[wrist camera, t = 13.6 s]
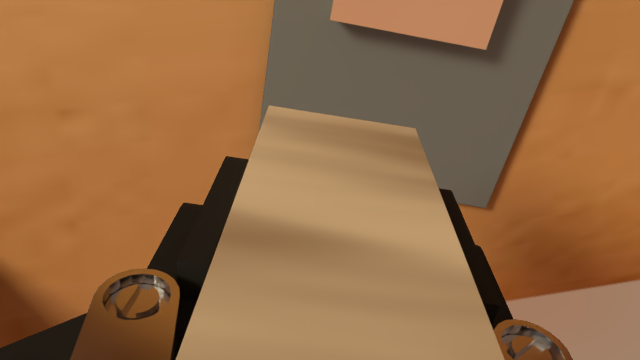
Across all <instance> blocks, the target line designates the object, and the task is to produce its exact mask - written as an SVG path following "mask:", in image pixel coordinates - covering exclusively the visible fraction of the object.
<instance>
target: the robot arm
mask: <svg viewBox="0 0 640 360" xmlns="http://www.w3.org/2000/svg"><path fill="white" fill-rule="evenodd" d="M248 161H249V160H248V159H242V158H235V157H228V156H226V157H225V159H224V161H223V163H222V166H221V168H220V170H219V172H218V174H217V176H216V178H215V181H214V183H213V185H212V187H211V189H210V191H209V193H208V195H207V198H206V200H205V202H204V204H203V205H197V204H190V203H183V204H182V206H181V207H180V209H179V211H178V213H177V214H176V216H175V218H174V220H173V222H172V224H171V225H170V227H169V229H168V231H167V233H166V235H165V236H164V238H163V240H162V242H161V244H160V246H159V247H158V249H157V251H156V253H155V255H154V257H153V258H152V260H151V262H150V264H149V266H148V268H147V269H145V268H143V269H131V270H128V271H124V272H121V273H118V274H116V275H114V276H112V277H110V278H108V279H107V280H106V281H105V282H104V283H102V284H101V285H100V286H99V287H98V289H97V291H96V292H95V294H94V296H93V298H92V301H91V304H90V307H89V309H88V312H87V313H86V314H83V315H81V316H78V317H76V318H74V319H71V320H69V321H66V322H64V323H61V324H59V325H56V326H54V327H51V328H49V329H47V330H44V331H42V332H39V333H37V334H34V335H32V336H29V337H27V338H24V339H22V340H19V341H17V342H15V343H12V344H10V345H7V346H5V347H2V348H0V360H176V357H177V355H178V352H179V349H180V346H181V344H182V341H183V338H184V336H185V333H186V330H187V327H188V325H189V322H190V319H191V316H192V314H193V311H194V308H195V306H196V303H197V300H198V297H199V295H200V292H201V289H202V286H203V284H204V281H205V278H206V276H207V273H208V270H209V267H210V265H211V262H212V259H213V257H214V254H215V251H216V248H217V246H218V243H219V240H220V237H221V235H222V232H223V229H224V227H225V224H226V221H227V218H228V216H229V213H230V210H231V207H232V205H233V202H234V199H235V197H236V194H237V191H238V188H239V186H240V183H241V180H242V177H243V175H244V172H245V169H246V167H247V164H248ZM439 191H440V194H441V196H442V199H443V201H444V204H445V207H446V209H447V212H448V214H449V217H450V219H451V222H452V225H453V227H454V230H455V232H456V235H457V238H458V240H459V243H460V245H461V248H462V251H463V253H464V256H465V258H466V261H467V263H468V266H469V269H470V271H471V274H472V276H473V279H474V282H475V284H476V287H477V289H478V292H479V295H480V297H481V300H482V302H483V305H484V307H485V310H486V313H487V315H488V318H489V320H490V323H491V326H492V328H493V331H494V333H495V336H496V339H497V341H498V344H499V346H500V349H501V352H502V354H503V357H504V359H505V360H573V359H572V357H571V355H570V353H569V351H568V350H567V348H566V347H565V346H564V345H563V344H562V343H561V341H560V340H559V339H557V338H556V337H555V336H554V335H552V334H551V333H550V332H548V331H547V330H545V329H543V328H541V327H540V326H538V325H535V324H533V323H530V322H527V321H523V320H516V319H513V317H512V315H511V313H510V311H509V308H508V306H507V304H506V302H505V299H504V297H503V295H502V293H501V291H500V288H499V286H498V284H497V282H496V279H495V277H494V275H493V273H492V270H491V268H490V266H489V264H488V261H487V259H486V257H485V255H484V252H483V250H482V249H481V247H480V246H478V245H475V243H474V241H473V239H472V236H471V234H470V232H469V229H468V227H467V225H466V223H465V220H464V218H463V216H462V213H461V211H460V209H459V206H458V204H457V202H456V199H455V197H454V195H453V192H452V191H451V190H447V189H441V188H439Z"/></svg>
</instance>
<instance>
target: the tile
mask: <svg viewBox="0 0 640 360" xmlns="http://www.w3.org/2000/svg"><path fill="white" fill-rule="evenodd" d="M502 3H503V0H333V4H332V10H331V16H330V20H333V21H338V22H343V23H348V24H354V25H359V26H364V27H369V28H374V29H380V30H385V31H390V32H395V33H401V34H406V35H411V36H416V37H421V38H427V39H432V40H437V41H442V42H447V43H453V44H458V45H463V46H468V47H473V48H479V49H484V50H486V48H487V46H488V43H489V40H490V37H491V34H492V31H493V29H494V26H495V23H496V20H497V17H498V14H499V12H500V9H501V6H502Z"/></svg>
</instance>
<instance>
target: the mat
mask: <svg viewBox="0 0 640 360" xmlns="http://www.w3.org/2000/svg"><path fill="white" fill-rule="evenodd" d="M573 1H574V0H503V3H502V6H501V9H500V12H499V14H498V17H497V20H496V23H495V26H494V29H493V31H492V34H491V37H490V40H489V43H488V46H487V48H486V50H484V49H479V48H473V47H468V46H463V45H458V44H453V43H447V42H442V41H437V40H432V39H427V38H421V37H416V36H411V35H406V34H401V33H395V32H390V31H385V30H380V29H374V28H369V27H364V26H359V25H354V24H348V23H343V22H338V21H333V20H330V16H331V10H332V4H333V0H275V3H274V11H273V20H272V28H271V36H270V45H269V53H268V62H267V70H266V78H265V87H264V95H263V104H262V112H261V120H260V128H261V126H262V123H263V120H264V117H265V115H266V112H267V109H268V107H269V106H276V107H282V108H289V109H295V110H301V111H308V112H314V113H320V114H327V115H333V116H340V117H346V118H352V119H359V120H365V121H372V122H378V123H384V124H391V125H397V126H404V127H410V128H415V129H416V131H417V134H418V137H419V139H420V142H421V144H422V147H423V150H424V152H425V155H426V157H427V160H428V162H429V165H430V168H431V170H432V173H433V175H434V178H435V181H436V183H437V186H438V188H441V189H447V190H451V191H452V192H453V195H454V197H455V199H456V202H457V203H459V204H464V205H470V206H476V207H481V208H486V206H487V204H488V202H489V199H490V197H491V195H492V192H493V190H494V188H495V185H496V183H497V180H498V178H499V176H500V173H501V171H502V169H503V166H504V164H505V162H506V159H507V157H508V155H509V152H510V150H511V147H512V145H513V143H514V140H515V138H516V136H517V133H518V131H519V129H520V126H521V124H522V122H523V119H524V117H525V114H526V112H527V110H528V107H529V105H530V103H531V100H532V98H533V96H534V93H535V91H536V89H537V86H538V84H539V81H540V79H541V77H542V74H543V72H544V70H545V67H546V65H547V63H548V60H549V58H550V56H551V53H552V51H553V48H554V46H555V44H556V41H557V39H558V37H559V34H560V32H561V30H562V27H563V25H564V23H565V20H566V18H567V15H568V13H569V11H570V8H571V6H572V4H573ZM259 131H260V129H259Z"/></svg>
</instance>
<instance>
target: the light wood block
mask: <svg viewBox="0 0 640 360" xmlns="http://www.w3.org/2000/svg"><path fill="white" fill-rule="evenodd" d="M176 360H505V359H504V357H503V354H502V352H501V349H500V346H499V344H498V341H497V339H496V336H495V333H494V331H493V328H492V326H491V323H490V320H489V318H488V315H487V313H486V310H485V307H484V305H483V302H482V300H481V297H480V295H479V292H478V289H477V287H476V284H475V282H474V279H473V276H472V274H471V271H470V269H469V266H468V263H467V261H466V258H465V256H464V253H463V251H462V248H461V245H460V243H459V240H458V238H457V235H456V232H455V230H454V227H453V225H452V222H451V219H450V217H449V214H448V212H447V209H446V207H445V204H444V201H443V199H442V196H441V194H440V191H439V188H438V186H437V183H436V181H435V178H434V175H433V173H432V170H431V168H430V165H429V162H428V160H427V157H426V155H425V152H424V150H423V147H422V144H421V142H420V139H419V137H418V134H417V131H416V129H415V128H410V127H404V126H397V125H391V124H384V123H378V122H372V121H365V120H359V119H352V118H346V117H340V116H333V115H327V114H320V113H314V112H308V111H301V110H295V109H289V108H282V107H276V106H269V107H268V109H267V112H266V115H265V117H264V120H263V123H262V126H261V128H260V131H259V134H258V137H257V139H256V142H255V145H254V147H253V150H252V153H251V156H250V158H249V161H248V164H247V167H246V169H245V172H244V175H243V177H242V180H241V183H240V186H239V188H238V191H237V194H236V197H235V199H234V202H233V205H232V207H231V210H230V213H229V216H228V218H227V221H226V224H225V227H224V229H223V232H222V235H221V237H220V240H219V243H218V246H217V248H216V251H215V254H214V257H213V259H212V262H211V265H210V267H209V270H208V273H207V276H206V278H205V281H204V284H203V286H202V289H201V292H200V295H199V297H198V300H197V303H196V306H195V308H194V311H193V314H192V316H191V319H190V322H189V325H188V327H187V330H186V333H185V336H184V338H183V341H182V344H181V346H180V349H179V352H178V355H177V357H176Z"/></svg>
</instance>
